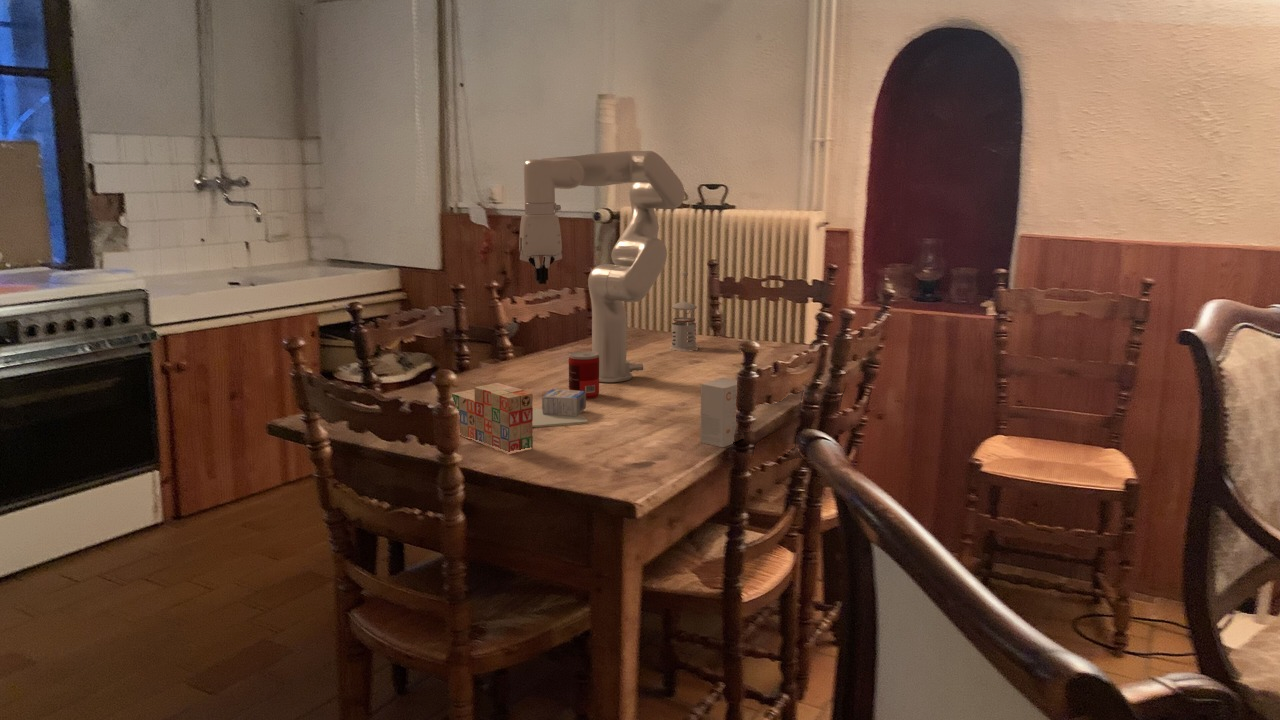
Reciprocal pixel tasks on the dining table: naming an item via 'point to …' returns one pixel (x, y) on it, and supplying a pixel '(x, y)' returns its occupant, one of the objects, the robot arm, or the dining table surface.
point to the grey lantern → (684, 327)
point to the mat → (555, 419)
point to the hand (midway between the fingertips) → (541, 283)
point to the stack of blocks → (496, 415)
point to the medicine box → (563, 402)
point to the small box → (718, 412)
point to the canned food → (584, 372)
